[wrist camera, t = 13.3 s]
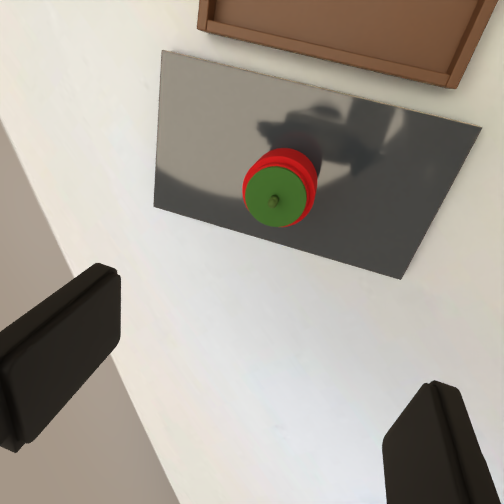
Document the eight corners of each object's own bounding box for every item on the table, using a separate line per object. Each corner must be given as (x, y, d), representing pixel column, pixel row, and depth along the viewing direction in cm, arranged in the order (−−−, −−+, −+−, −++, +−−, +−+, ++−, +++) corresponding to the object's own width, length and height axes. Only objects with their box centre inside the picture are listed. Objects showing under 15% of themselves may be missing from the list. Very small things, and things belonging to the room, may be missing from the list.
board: (475, 124, 20) (483, 127, 19) (398, 272, 25) (401, 280, 24) (169, 50, 22) (161, 49, 21) (160, 202, 27) (153, 206, 26)
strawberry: (327, 150, 21) (323, 177, 16) (309, 209, 23) (299, 250, 18) (266, 134, 22) (240, 154, 16) (253, 193, 24) (226, 229, 18)
